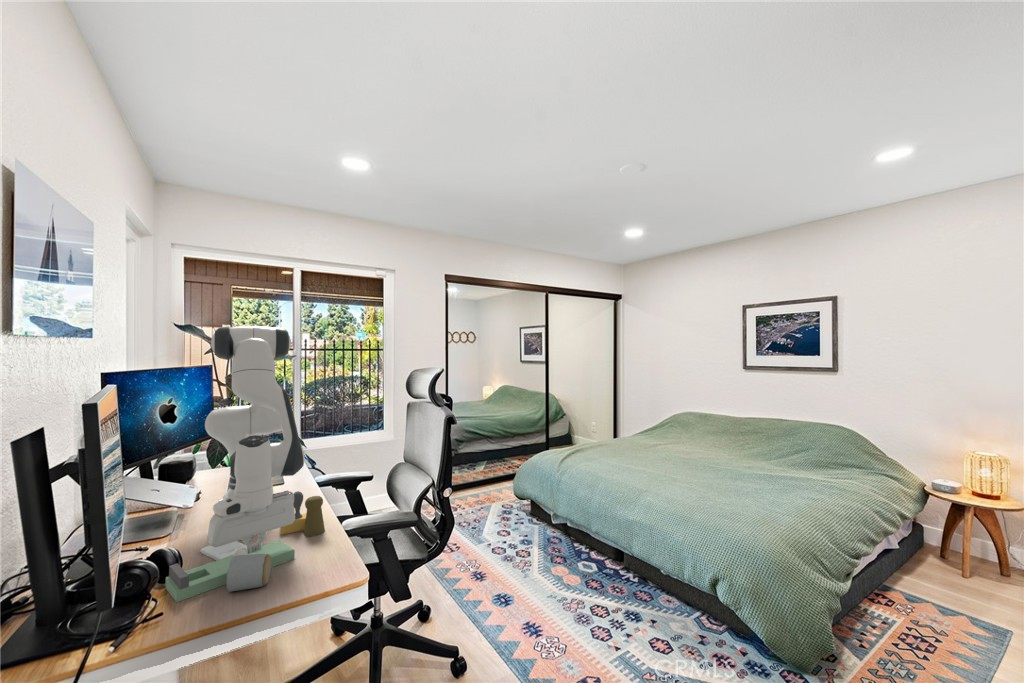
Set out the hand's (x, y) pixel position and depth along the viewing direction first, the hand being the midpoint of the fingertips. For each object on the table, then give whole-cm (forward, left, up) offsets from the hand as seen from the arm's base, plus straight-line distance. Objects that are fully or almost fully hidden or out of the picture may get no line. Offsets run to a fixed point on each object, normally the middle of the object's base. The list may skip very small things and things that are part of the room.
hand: (254, 551), depth 113 cm
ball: (0, -4, -1) cm, 4 cm away
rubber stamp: (-16, +18, -4) cm, 25 cm away
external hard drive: (-16, -2, -5) cm, 17 cm away
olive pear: (-9, +20, -4) cm, 23 cm away
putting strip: (0, -5, -4) cm, 6 cm away
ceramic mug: (+10, -4, -4) cm, 11 cm away
